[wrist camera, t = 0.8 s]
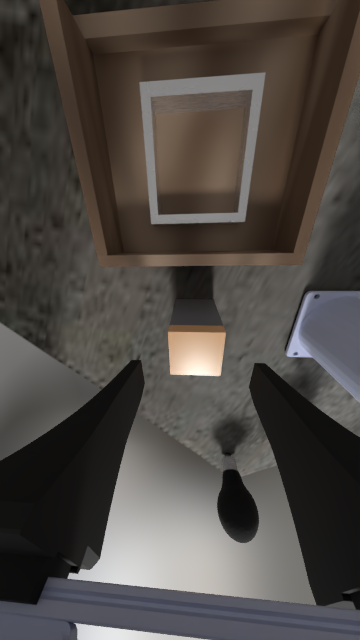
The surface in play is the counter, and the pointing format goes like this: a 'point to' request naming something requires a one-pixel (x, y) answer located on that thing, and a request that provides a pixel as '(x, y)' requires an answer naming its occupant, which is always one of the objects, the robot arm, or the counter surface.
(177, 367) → the two-tone rectangular block
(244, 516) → the light bulb
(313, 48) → the walnut box
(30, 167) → the counter surface
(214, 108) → the frame
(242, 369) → the counter surface
